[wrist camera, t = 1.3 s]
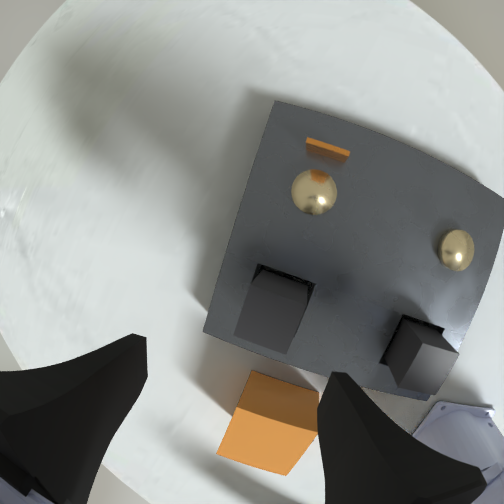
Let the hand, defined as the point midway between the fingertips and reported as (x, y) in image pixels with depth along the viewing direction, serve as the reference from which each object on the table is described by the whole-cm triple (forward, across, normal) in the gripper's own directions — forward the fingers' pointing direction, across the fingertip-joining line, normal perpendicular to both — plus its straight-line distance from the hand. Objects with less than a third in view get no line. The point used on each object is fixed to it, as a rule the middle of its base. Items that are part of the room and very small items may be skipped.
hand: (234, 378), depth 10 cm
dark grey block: (+9, -2, 0) cm, 9 cm away
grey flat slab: (+10, -7, -3) cm, 13 cm away
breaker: (+7, -11, +1) cm, 14 cm away
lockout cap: (+10, -3, +10) cm, 14 cm away
